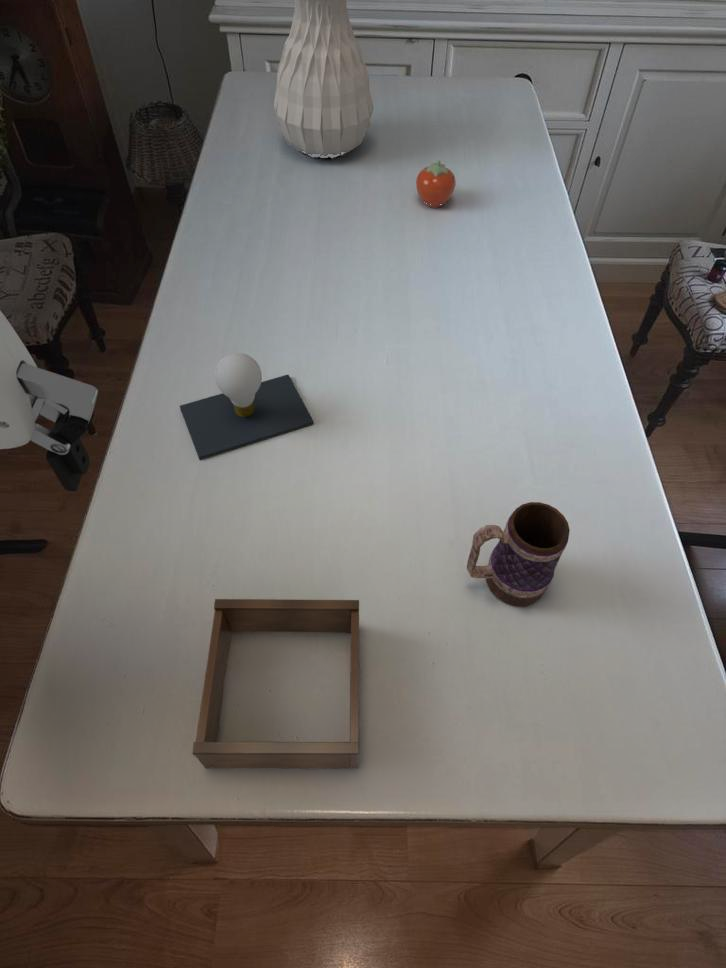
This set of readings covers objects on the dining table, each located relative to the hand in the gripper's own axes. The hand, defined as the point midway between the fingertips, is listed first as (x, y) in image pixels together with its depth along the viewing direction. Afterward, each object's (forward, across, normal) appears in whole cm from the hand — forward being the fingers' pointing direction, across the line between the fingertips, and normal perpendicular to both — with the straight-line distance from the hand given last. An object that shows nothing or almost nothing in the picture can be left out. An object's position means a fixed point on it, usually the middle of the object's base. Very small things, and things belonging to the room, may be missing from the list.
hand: (9, 474), depth 45 cm
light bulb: (+28, +10, +32) cm, 43 cm away
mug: (+28, +42, +7) cm, 51 cm away
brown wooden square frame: (+28, +18, -6) cm, 34 cm away
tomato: (+28, +40, +88) cm, 100 cm away
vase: (+28, +18, +109) cm, 114 cm away
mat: (+28, +10, +32) cm, 44 cm away
